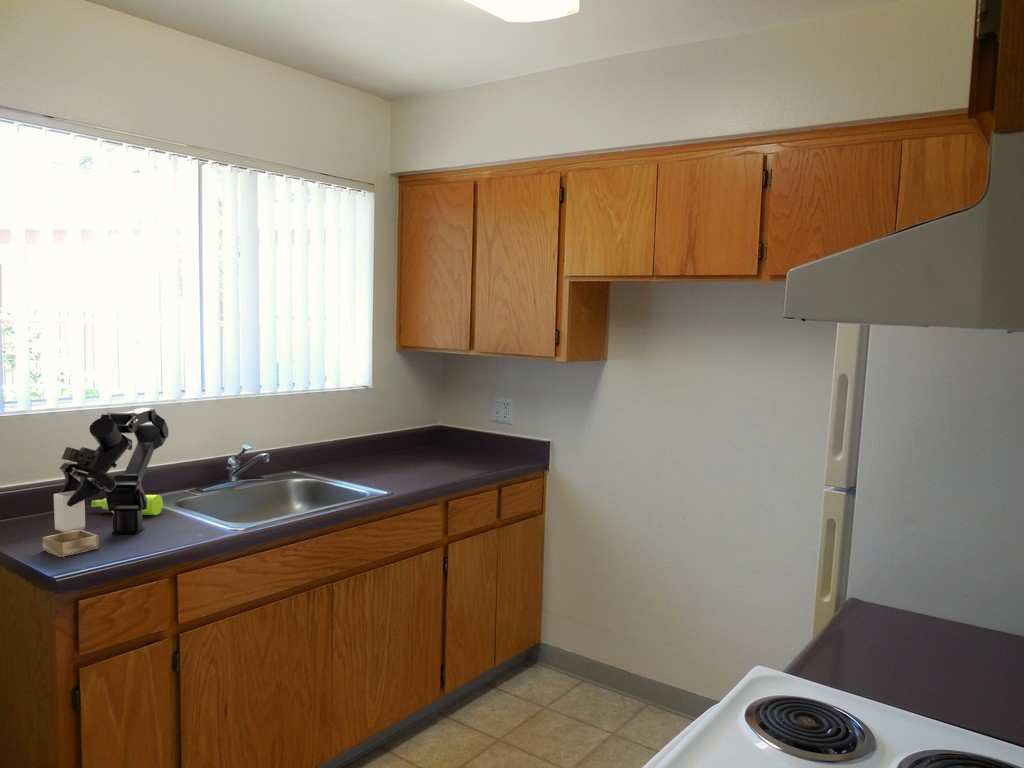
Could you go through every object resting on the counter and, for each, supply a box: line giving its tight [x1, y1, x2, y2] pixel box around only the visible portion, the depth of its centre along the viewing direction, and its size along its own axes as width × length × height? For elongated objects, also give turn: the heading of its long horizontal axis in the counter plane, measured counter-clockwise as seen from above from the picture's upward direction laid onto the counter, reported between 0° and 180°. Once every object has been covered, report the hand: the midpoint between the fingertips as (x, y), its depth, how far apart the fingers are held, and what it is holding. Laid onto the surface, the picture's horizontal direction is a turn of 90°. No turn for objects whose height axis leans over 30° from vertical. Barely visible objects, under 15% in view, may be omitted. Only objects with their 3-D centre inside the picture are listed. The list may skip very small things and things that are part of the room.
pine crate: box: [42, 529, 100, 556], centre depth 190 cm, size 9×9×4 cm
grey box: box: [53, 491, 86, 533], centre depth 189 cm, size 5×5×9 cm
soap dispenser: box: [91, 494, 164, 516], centre depth 227 cm, size 6×7×20 cm
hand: (63, 503), depth 188 cm, fingers closed on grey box, 5 cm apart
